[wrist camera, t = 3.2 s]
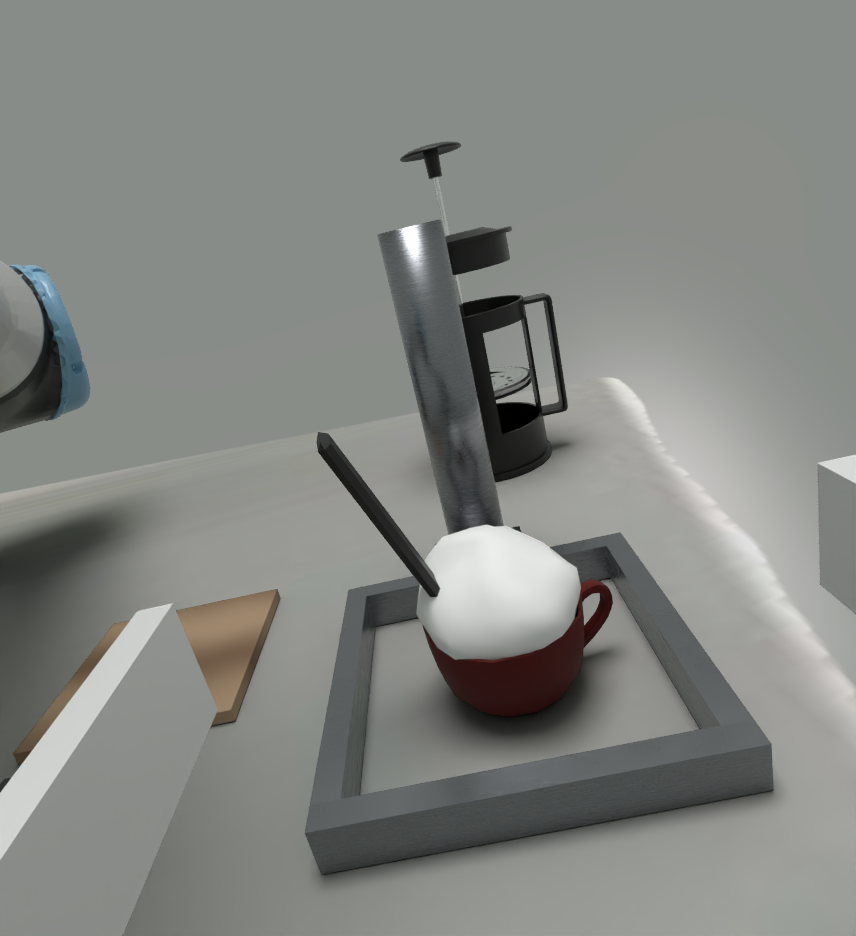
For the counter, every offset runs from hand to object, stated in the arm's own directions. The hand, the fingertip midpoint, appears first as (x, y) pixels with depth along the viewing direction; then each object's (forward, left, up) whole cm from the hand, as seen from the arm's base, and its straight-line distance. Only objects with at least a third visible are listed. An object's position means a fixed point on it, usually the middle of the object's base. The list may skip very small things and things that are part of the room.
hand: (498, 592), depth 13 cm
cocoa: (-10, 0, -11) cm, 15 cm away
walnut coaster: (-16, -17, -10) cm, 26 cm away
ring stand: (-12, 0, -10) cm, 16 cm away
